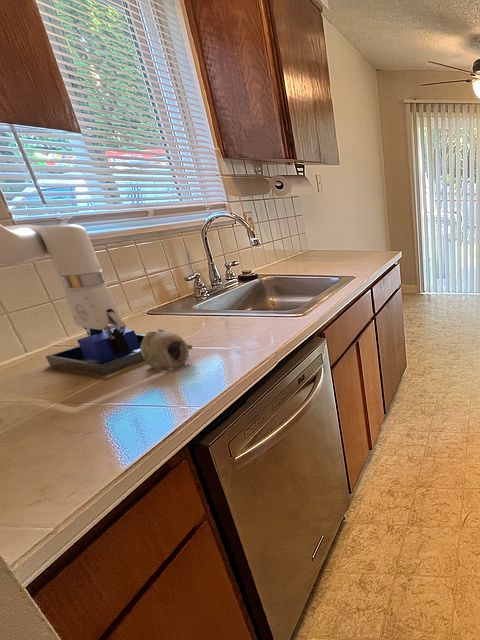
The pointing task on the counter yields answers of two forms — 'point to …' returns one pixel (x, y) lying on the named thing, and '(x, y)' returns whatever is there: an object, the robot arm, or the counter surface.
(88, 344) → the blue block
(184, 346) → the beige rounded hollow piece
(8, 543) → the counter surface
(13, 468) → the counter surface
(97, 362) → the tray
